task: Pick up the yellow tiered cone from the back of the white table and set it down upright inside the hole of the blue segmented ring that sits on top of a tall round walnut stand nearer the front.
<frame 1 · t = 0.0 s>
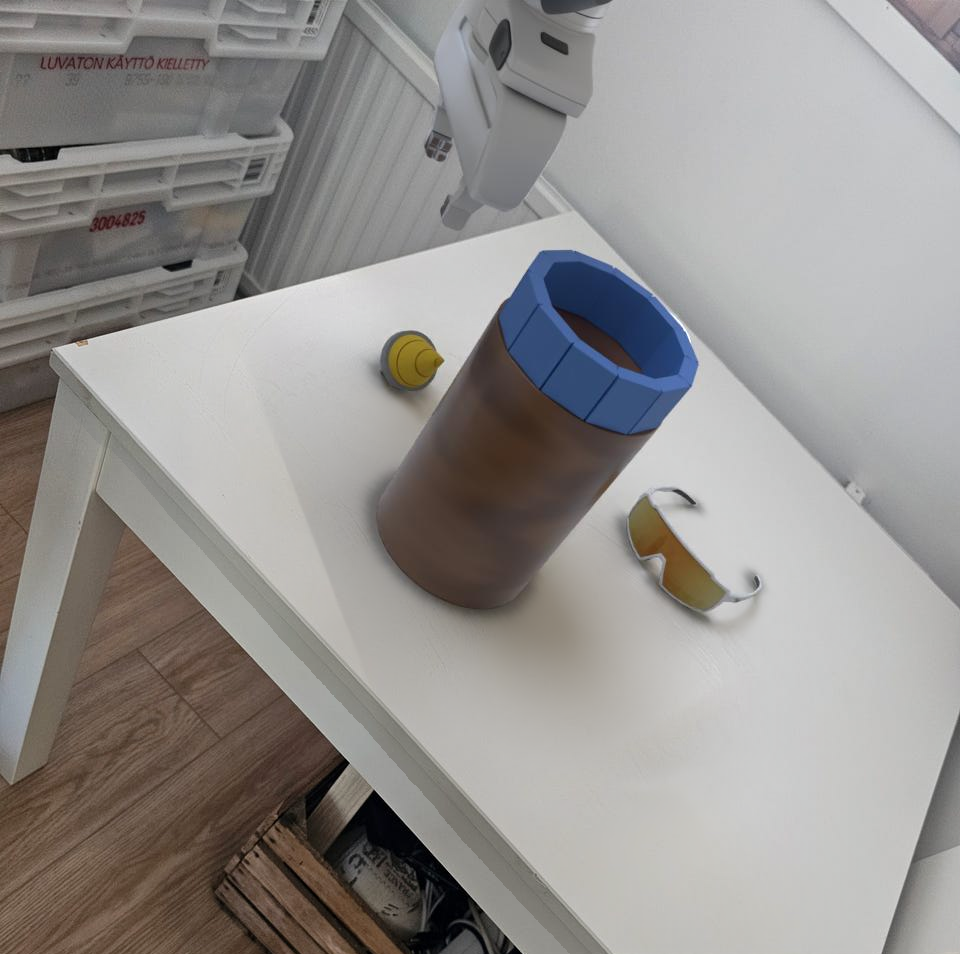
hand: (440, 187, 82), 18 cm above the table, tool pointing down, fingers open, 8 cm apart
yellow tiered cone: (404, 389, 95), on the table
stand: (453, 540, 86), on the table
blue segmented ring: (584, 361, 73), resting on stand
sunglasses: (685, 558, 102), on the table
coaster: (640, 346, 123), on the table
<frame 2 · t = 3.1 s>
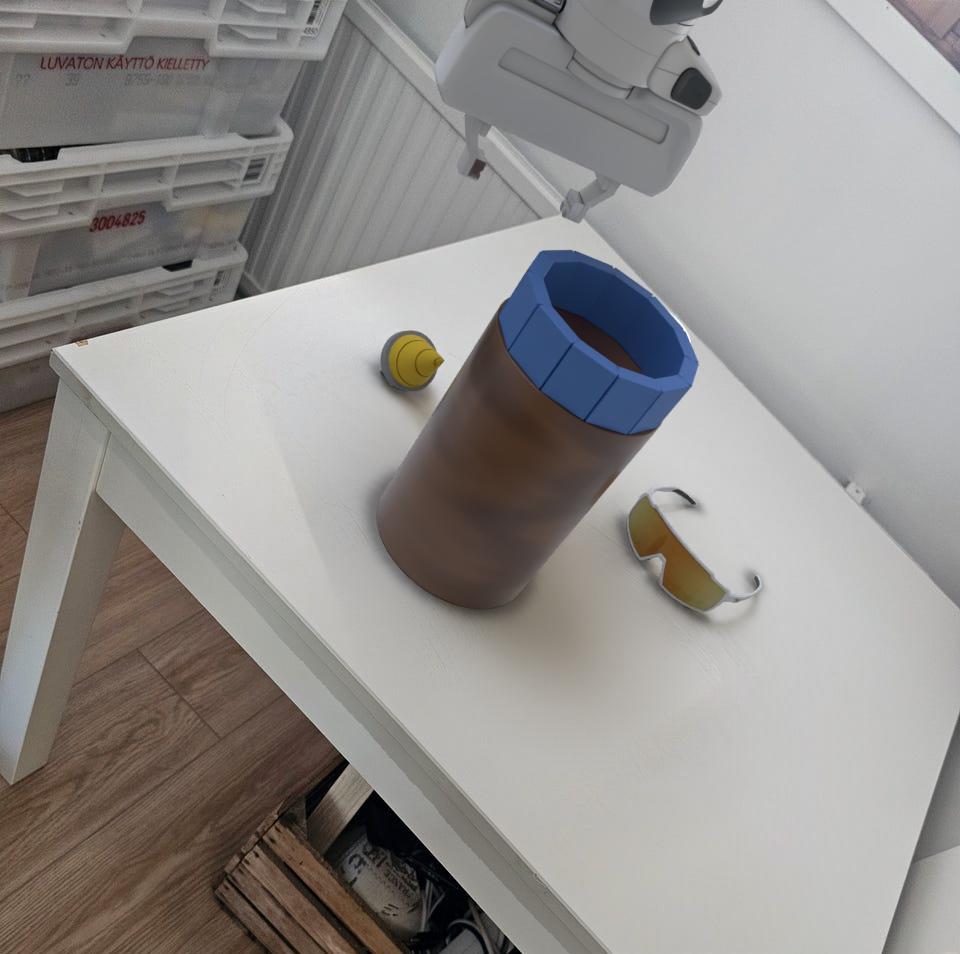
hand: (518, 195, 81), 21 cm above the table, tool pointing down, fingers open, 8 cm apart
nothing on the table moved.
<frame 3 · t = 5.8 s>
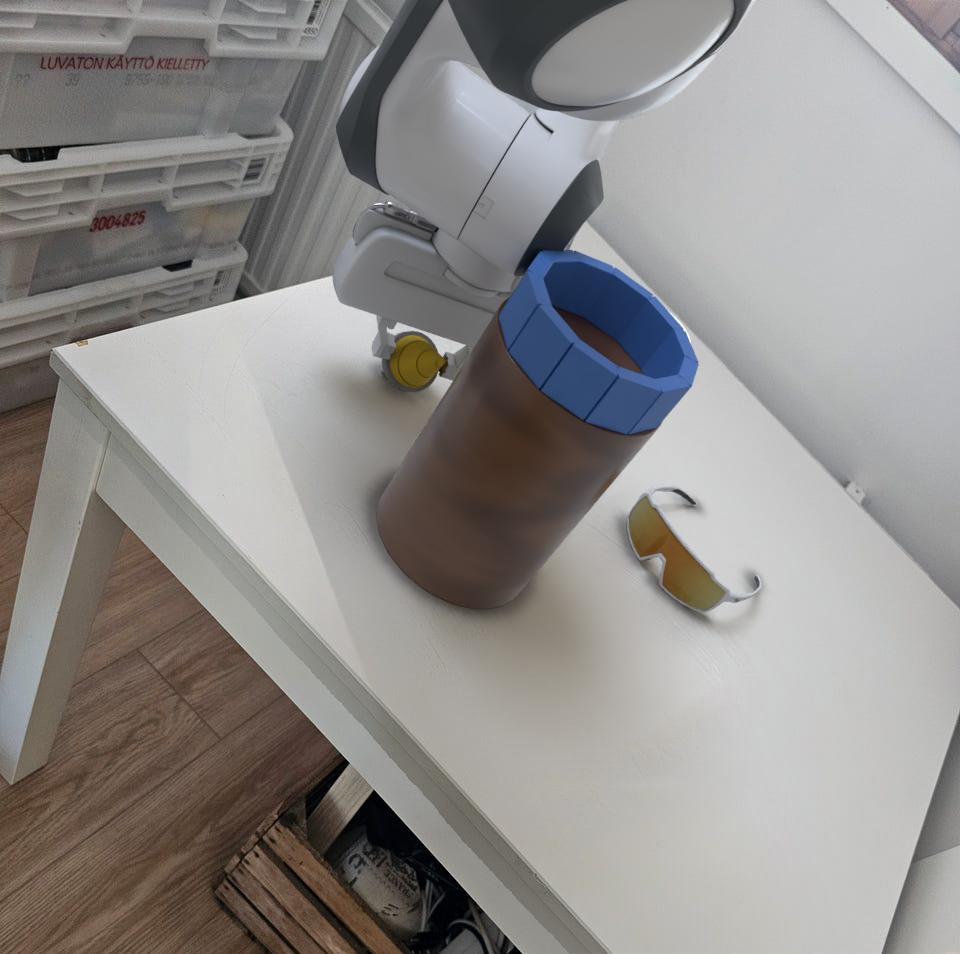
hand: (413, 364, 94), 2 cm above the table, tool pointing down, fingers closed on yellow tiered cone, 5 cm apart
yellow tiered cone: (405, 389, 96), on the table, touching gripper
everything else where it was.
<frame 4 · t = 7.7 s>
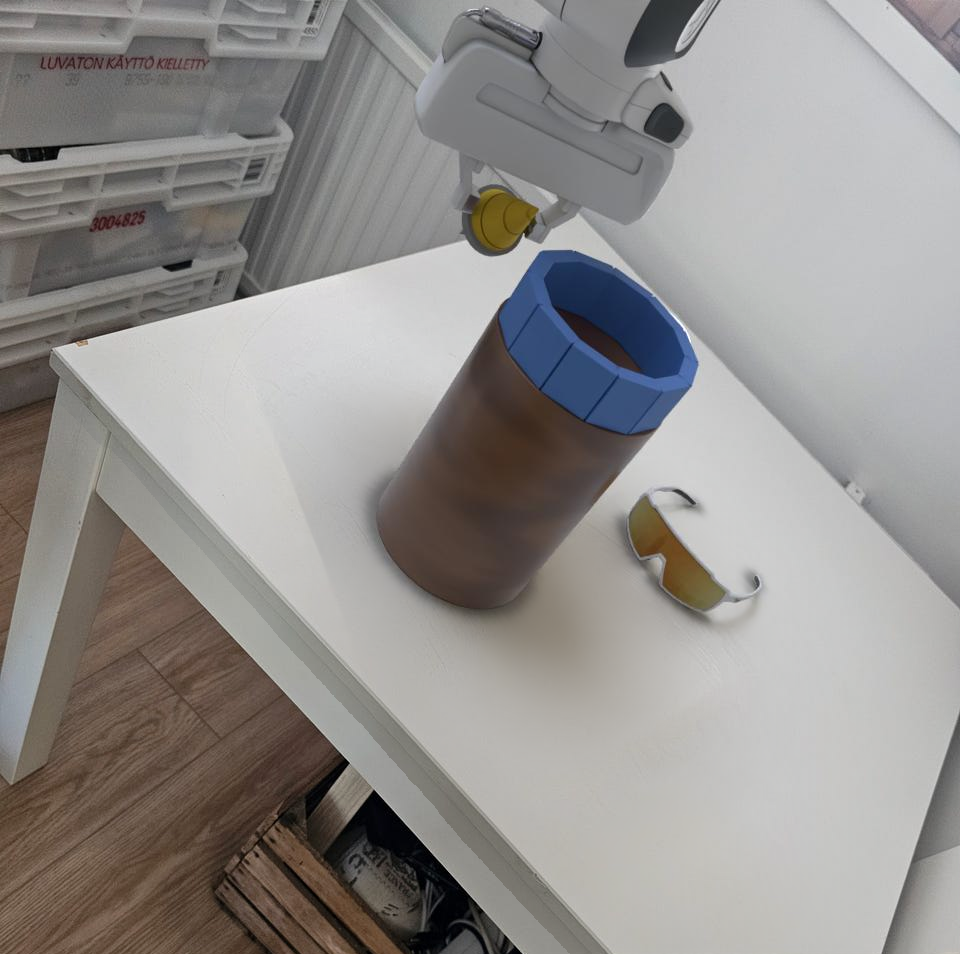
hand: (496, 223, 83), 18 cm above the table, tool pointing down, fingers closed on yellow tiered cone, 5 cm apart
yellow tiered cone: (486, 254, 85), point 15 cm above the table, touching gripper
everything else where it was.
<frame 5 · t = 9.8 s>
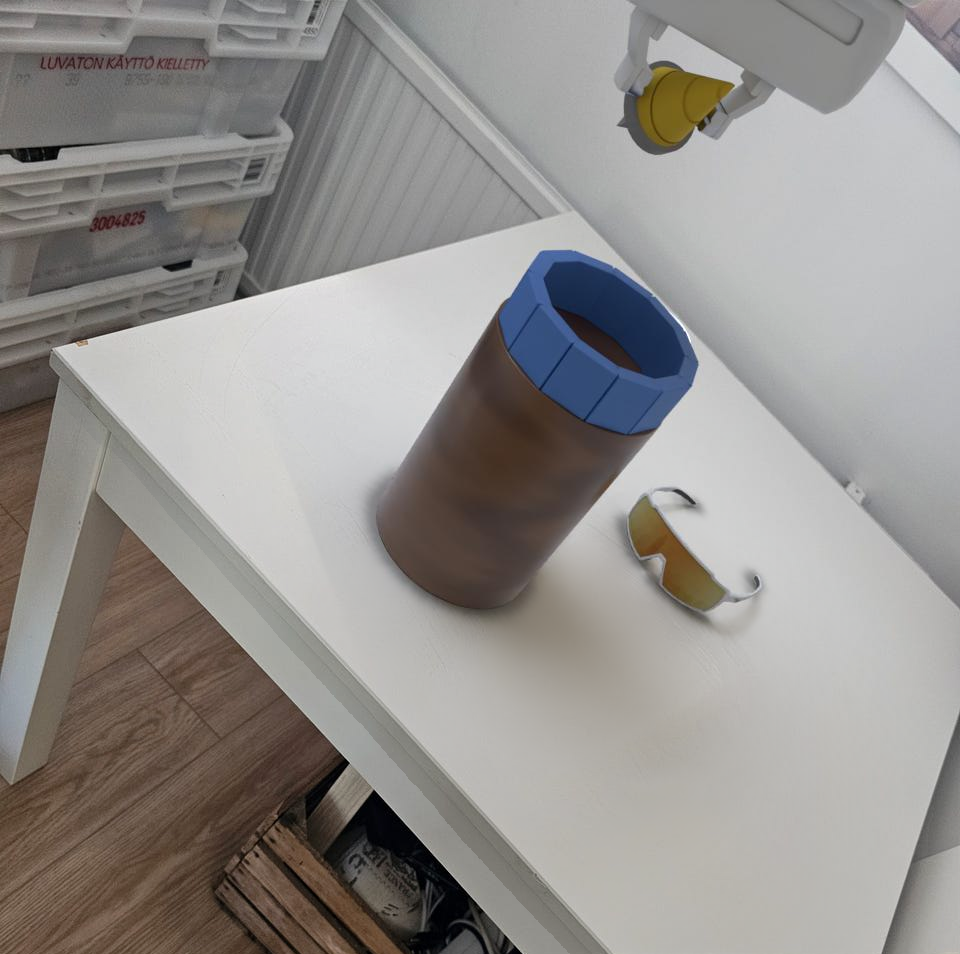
hand: (665, 111, 66), 35 cm above the table, tool pointing down, fingers closed on yellow tiered cone, 5 cm apart
yellow tiered cone: (648, 153, 68), point 32 cm above the table, touching gripper
everything else where it was.
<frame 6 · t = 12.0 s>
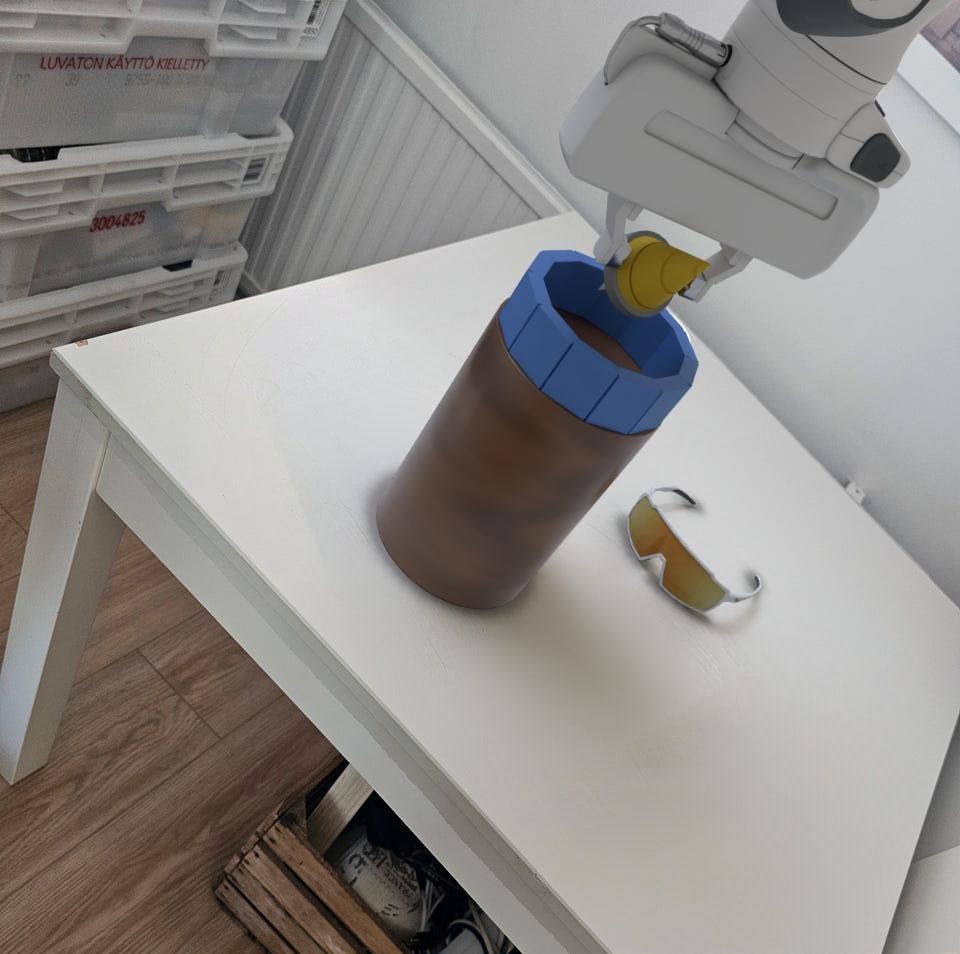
hand: (645, 278, 68), 27 cm above the table, tool pointing down, fingers closed on yellow tiered cone, 5 cm apart
yellow tiered cone: (630, 315, 69), point 25 cm above the table, touching gripper
everything else where it was.
when the fingers open (22 cm above the table, at t = 13.8 s): yellow tiered cone stays where it is, resting on stand.
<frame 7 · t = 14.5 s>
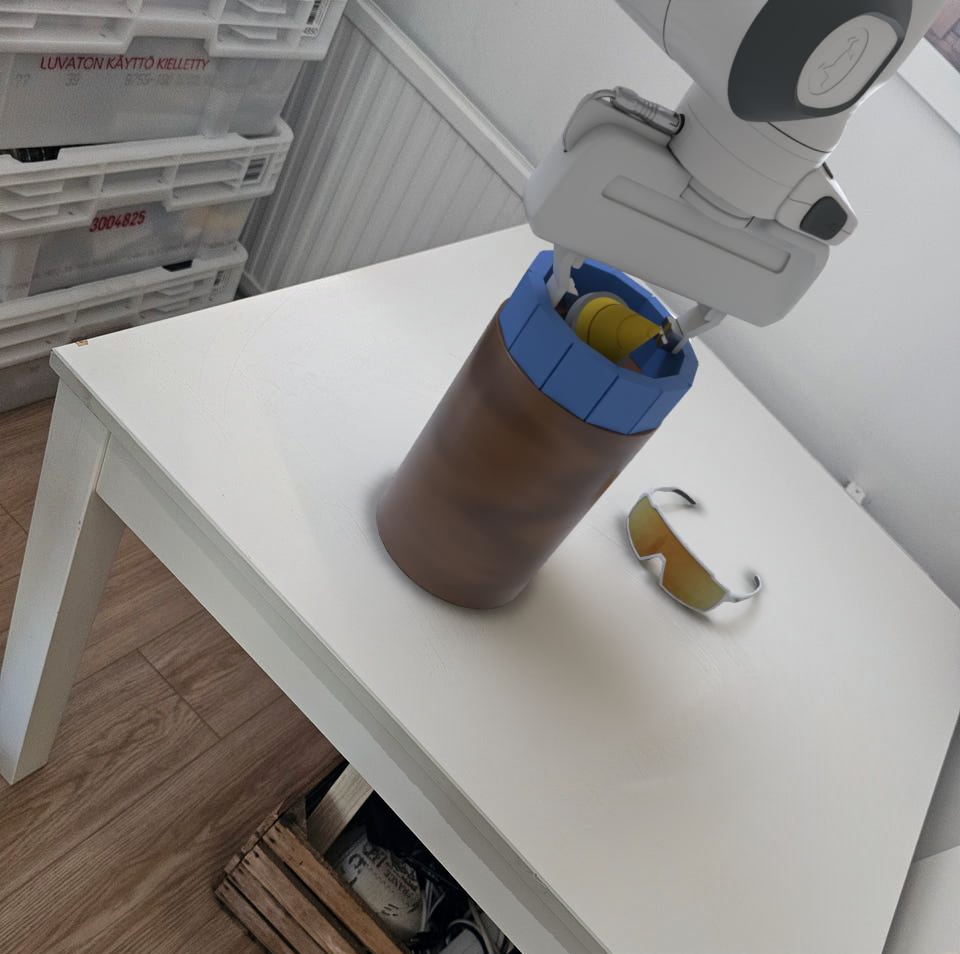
hand: (609, 326, 70), 23 cm above the table, tool pointing down, fingers open, 8 cm apart
yellow tiered cone: (589, 370, 73), point 20 cm above the table, touching stand
everything else where it was.
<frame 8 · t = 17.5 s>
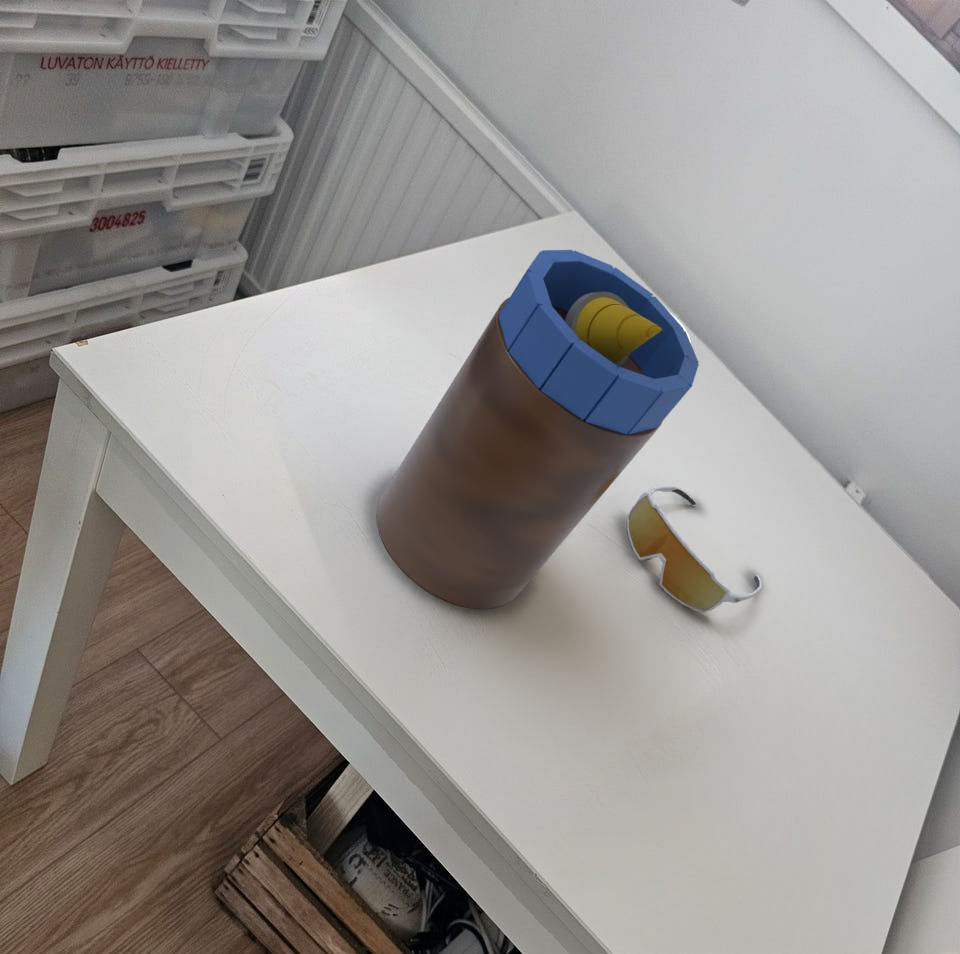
nothing on the table moved.
at the end: yellow tiered cone 0.6 cm off-centre on the blue segmented ring, point 0.0 cm above the blue segmented ring's base; the gripper is holding nothing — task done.
